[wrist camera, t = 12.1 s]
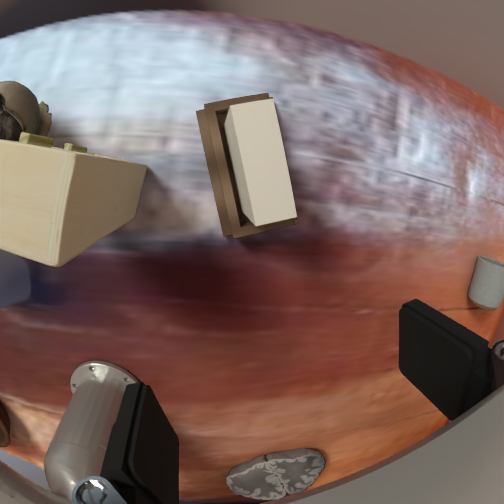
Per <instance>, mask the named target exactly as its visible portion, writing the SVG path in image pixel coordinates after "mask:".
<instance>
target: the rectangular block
mask: <svg viewBox="0 0 504 504" xmlns="http://www.w3.org/2000/svg"><path fill="white" fill-rule="evenodd" d="M224 131H225V136H226V140H227V145H228V150H229V154H230V159H231V163H232V168H233V173H234V177H235V182H236V187H237V191H238V196H239V201H240V205H241V210H242V212H243V213H244V214H245V215H246V216H247V217H248V218H249V219H250V220H251V222H252V223H253V224H254V225H255V226H259V225H264V224H268V223H272V222H277V221H281V220H286V219H290V218H295V217H297V214H296V208H295V203H294V197H293V192H292V187H291V182H290V176H289V171H288V166H287V161H286V156H285V152H284V147H283V142H282V137H281V133H280V128H279V123H278V119H277V114H276V110H275V105H274V101H273V99H267V100H260V101H253V102H247V103H241V104H236V105H230V108H229V111H228V114H227V117H226V121H225V124H224Z"/></svg>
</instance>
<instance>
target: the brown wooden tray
mask: <svg viewBox="0 0 504 504" xmlns="http://www.w3.org/2000/svg"><path fill="white" fill-rule="evenodd" d="M267 99H273V97H269V94H268V93H264V94H257V95H251V96H245V97H239V98H233V99H228V100H223V101H218V102H213V103H208V104H204V109H203V110H198V111H196V114H197V119H198V123H199V128H200V133H201V138H202V142H203V147H204V151H205V156H206V161H207V165H208V170H209V174H210V179H211V183H212V188H213V192H214V197H215V201H216V205H217V210H218V214H219V218H220V223H221V227H222V231H223V236H227V235H231V234H232V236H233V238H238V237H243V236H247V235H251V234H255V233H260V232H264V231H268V230H273V229H277V228H281V227H286V226H290V225H294V224H295V220H296V219H297V217H295V218H290V219H286V220H281V221H277V222H272V223H268V224H264V225H259V226H255V225H254V224H253V223H252V222H251V220H250V219H249V218H248V217H247V216H246V215H245V214H244V213H243V212H242V210H241V205H240V201H239V196H238V191H237V187H236V182H235V177H234V173H233V168H232V163H231V159H230V154H229V150H228V145H227V140H226V136H225V131H224V124H225V121H226V117H227V114H228V111H229V108H230V105H236V104H241V103H247V102H253V101H260V100H267Z"/></svg>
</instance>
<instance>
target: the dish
mask: <svg viewBox="0 0 504 504" xmlns="http://www.w3.org/2000/svg"><path fill="white" fill-rule="evenodd" d="M9 433H10V422H9V418H8V416H7V413H6V411H5V410H4V408H3V406H2V405H1V404H0V447H6V446H8V445H9V444H10V435H9Z"/></svg>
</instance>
